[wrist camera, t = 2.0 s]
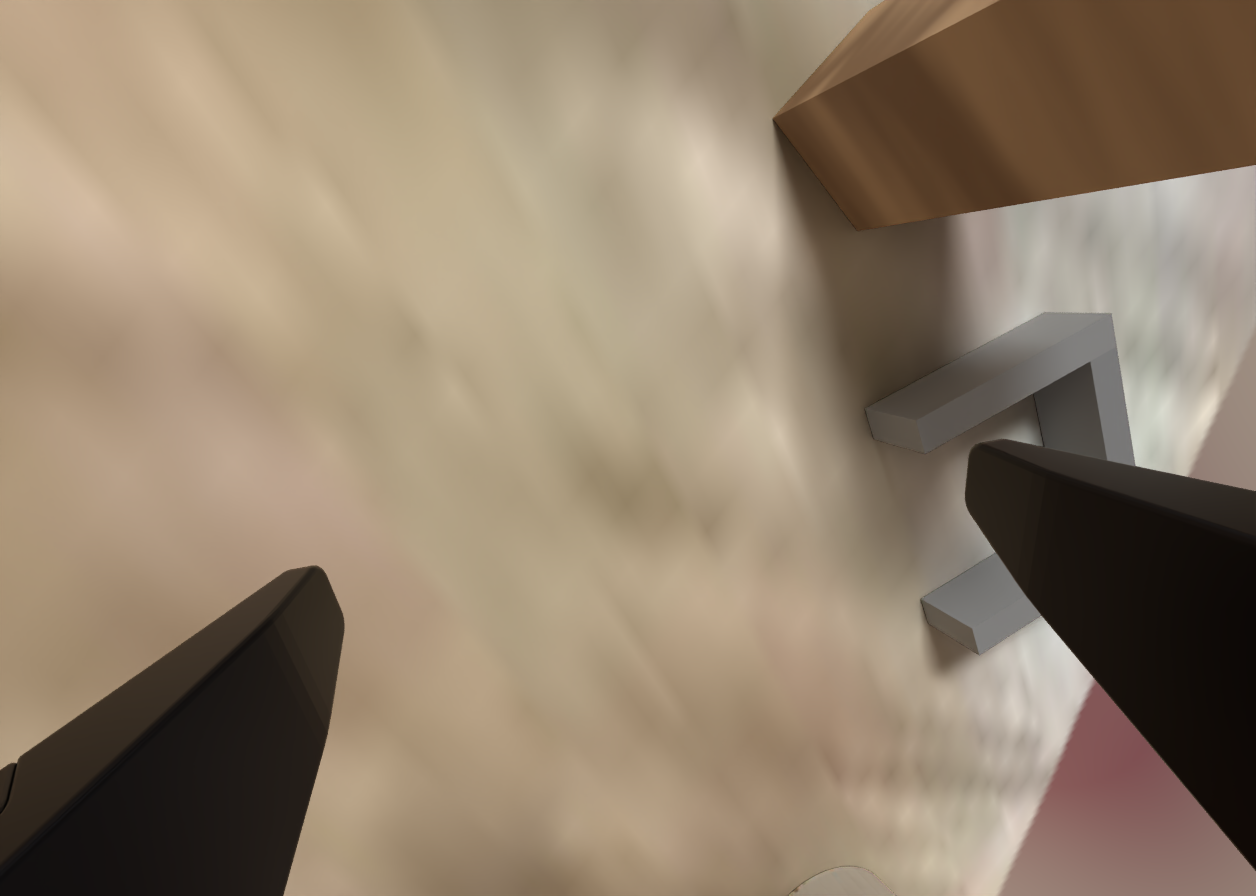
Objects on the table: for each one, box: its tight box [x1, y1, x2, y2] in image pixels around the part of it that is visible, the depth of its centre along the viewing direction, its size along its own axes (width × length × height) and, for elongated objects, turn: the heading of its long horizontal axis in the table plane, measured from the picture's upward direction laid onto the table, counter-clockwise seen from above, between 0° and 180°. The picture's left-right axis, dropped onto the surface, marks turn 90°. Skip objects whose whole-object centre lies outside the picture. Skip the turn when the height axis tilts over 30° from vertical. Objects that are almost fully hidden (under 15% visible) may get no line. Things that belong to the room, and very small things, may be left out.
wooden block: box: [773, 0, 1256, 231], centre depth 15 cm, size 4×4×13 cm
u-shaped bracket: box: [865, 312, 1135, 655], centre depth 24 cm, size 8×9×2 cm
